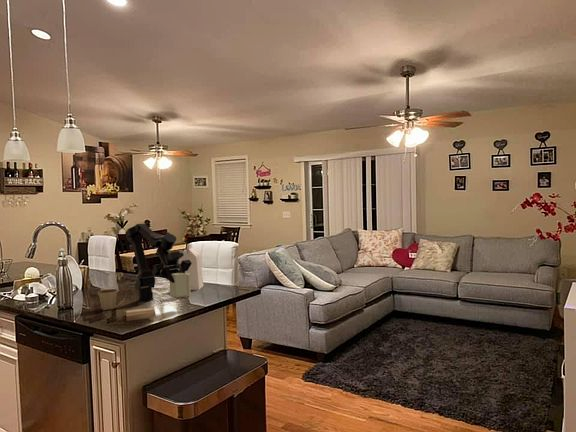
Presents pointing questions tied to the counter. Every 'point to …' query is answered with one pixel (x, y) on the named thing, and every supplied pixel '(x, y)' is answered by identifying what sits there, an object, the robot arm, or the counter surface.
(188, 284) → the olive grey block
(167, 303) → the counter surface
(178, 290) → the canister
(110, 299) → the flower pot
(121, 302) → the counter surface
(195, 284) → the milk
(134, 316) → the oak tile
